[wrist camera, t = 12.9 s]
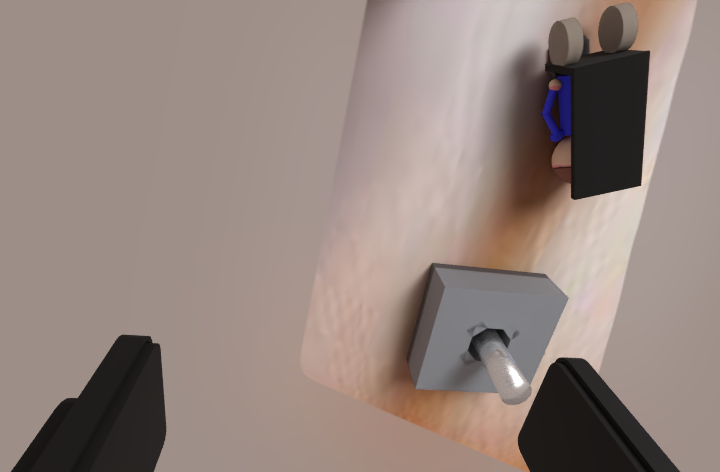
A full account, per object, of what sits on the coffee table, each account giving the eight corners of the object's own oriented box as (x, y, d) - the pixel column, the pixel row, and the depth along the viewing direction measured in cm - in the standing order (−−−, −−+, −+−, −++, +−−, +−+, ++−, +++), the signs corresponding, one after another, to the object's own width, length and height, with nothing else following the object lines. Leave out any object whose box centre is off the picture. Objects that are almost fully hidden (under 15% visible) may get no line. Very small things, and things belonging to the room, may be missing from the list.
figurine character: (521, 31, 38) (536, 186, 43) (567, 16, 31) (578, 204, 36) (592, 13, 38) (598, 170, 43) (654, -7, 31) (653, 185, 36)
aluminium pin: (467, 311, 48) (506, 381, 38) (491, 313, 49) (535, 382, 39) (460, 331, 49) (497, 404, 40) (483, 333, 50) (525, 405, 40)
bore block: (432, 263, 46) (445, 286, 42) (545, 274, 48) (568, 297, 44) (406, 359, 52) (415, 389, 47) (508, 365, 54) (526, 394, 50)
